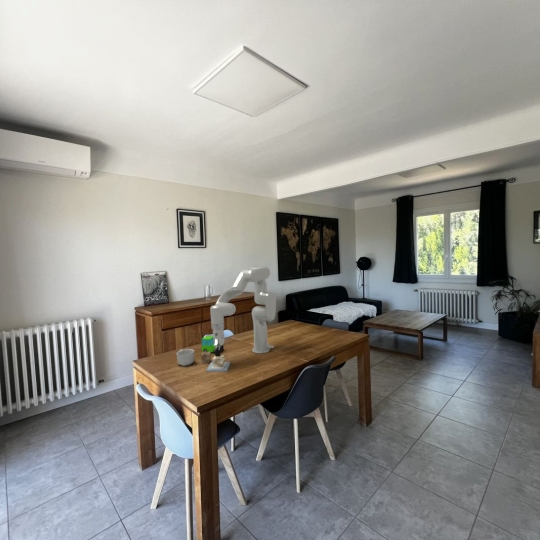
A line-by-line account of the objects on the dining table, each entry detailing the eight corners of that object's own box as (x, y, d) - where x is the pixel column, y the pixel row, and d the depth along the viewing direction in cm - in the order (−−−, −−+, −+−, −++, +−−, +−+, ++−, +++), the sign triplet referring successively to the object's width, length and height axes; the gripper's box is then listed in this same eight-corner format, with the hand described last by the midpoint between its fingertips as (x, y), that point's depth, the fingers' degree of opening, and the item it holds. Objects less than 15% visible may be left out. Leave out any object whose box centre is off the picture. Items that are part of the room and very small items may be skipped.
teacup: (196, 365, 175) (196, 352, 175) (178, 368, 170) (178, 355, 169) (191, 358, 187) (190, 346, 187) (174, 361, 182) (173, 349, 181)
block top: (210, 361, 182) (210, 351, 181) (209, 363, 177) (208, 354, 176) (203, 361, 182) (202, 351, 181) (201, 364, 177) (200, 354, 176)
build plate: (230, 363, 176) (230, 361, 176) (226, 371, 164) (226, 369, 164) (211, 364, 176) (211, 361, 176) (206, 371, 164) (206, 369, 164)
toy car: (219, 354, 194) (218, 340, 193) (201, 353, 197) (200, 339, 196) (224, 349, 204) (224, 336, 203) (207, 348, 207) (207, 335, 206)
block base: (224, 363, 173) (224, 355, 173) (222, 367, 167) (222, 358, 167) (214, 363, 173) (214, 355, 173) (212, 367, 167) (212, 359, 167)
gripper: (221, 329, 160) (223, 358, 162) (226, 321, 178) (228, 348, 179) (208, 330, 161) (210, 359, 162) (214, 322, 178) (216, 348, 179)
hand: (219, 353), depth 170 cm, fingers open, 9 cm apart
